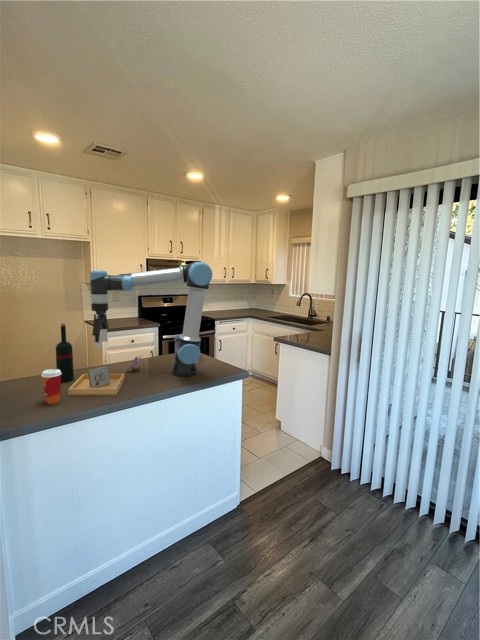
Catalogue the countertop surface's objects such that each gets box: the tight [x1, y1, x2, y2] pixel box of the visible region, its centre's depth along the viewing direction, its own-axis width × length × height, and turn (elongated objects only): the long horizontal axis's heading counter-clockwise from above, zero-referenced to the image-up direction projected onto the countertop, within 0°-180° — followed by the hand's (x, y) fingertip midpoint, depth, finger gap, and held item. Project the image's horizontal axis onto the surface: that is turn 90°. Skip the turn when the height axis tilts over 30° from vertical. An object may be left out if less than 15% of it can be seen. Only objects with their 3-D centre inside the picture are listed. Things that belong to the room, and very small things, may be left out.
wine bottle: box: [55, 323, 75, 384], centre depth 166 cm, size 8×10×30 cm
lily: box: [125, 355, 142, 372], centre depth 186 cm, size 12×12×10 cm
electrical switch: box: [87, 366, 110, 388], centre depth 159 cm, size 9×5×9 cm, turn 140°
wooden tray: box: [67, 373, 126, 397], centre depth 159 cm, size 21×21×4 cm
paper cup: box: [40, 368, 62, 405], centre depth 141 cm, size 8×8×14 cm
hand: (101, 344), depth 159 cm, fingers open, 13 cm apart
